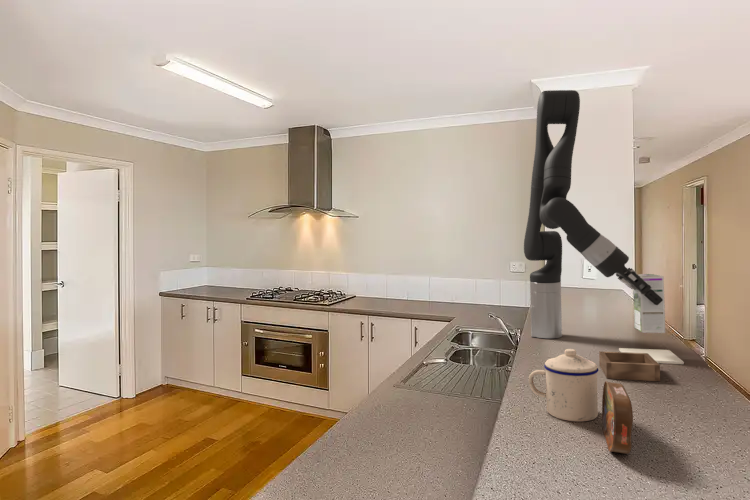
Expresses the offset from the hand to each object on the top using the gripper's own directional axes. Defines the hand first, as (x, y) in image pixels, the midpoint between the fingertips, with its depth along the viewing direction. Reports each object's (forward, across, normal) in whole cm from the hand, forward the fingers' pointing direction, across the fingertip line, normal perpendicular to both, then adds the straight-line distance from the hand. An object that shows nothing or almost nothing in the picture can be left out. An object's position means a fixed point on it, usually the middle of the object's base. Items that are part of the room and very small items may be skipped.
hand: (655, 300), depth 120 cm
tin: (-2, -55, +24) cm, 60 cm away
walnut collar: (+4, -16, +17) cm, 24 cm away
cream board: (+9, 0, +11) cm, 15 cm away
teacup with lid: (-7, -44, +29) cm, 53 cm away
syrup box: (+4, 0, +7) cm, 8 cm away
